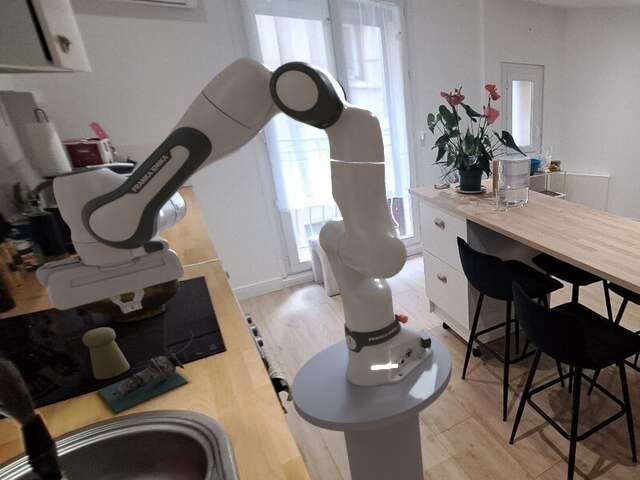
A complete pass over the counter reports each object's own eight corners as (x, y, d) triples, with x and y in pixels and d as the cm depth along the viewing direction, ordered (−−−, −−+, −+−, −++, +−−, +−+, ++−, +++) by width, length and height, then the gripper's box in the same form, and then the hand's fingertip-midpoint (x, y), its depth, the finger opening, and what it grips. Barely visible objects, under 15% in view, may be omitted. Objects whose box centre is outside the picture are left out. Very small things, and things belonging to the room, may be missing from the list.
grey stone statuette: (183, 368, 97) (120, 404, 89) (168, 348, 96) (102, 382, 88) (187, 370, 93) (121, 408, 85) (170, 349, 92) (102, 385, 84)
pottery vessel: (76, 336, 109) (47, 268, 102) (79, 320, 117) (53, 255, 110) (194, 309, 125) (176, 248, 118) (191, 296, 132) (174, 238, 126)
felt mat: (166, 364, 99) (166, 363, 99) (187, 382, 93) (187, 381, 93) (98, 391, 90) (97, 390, 89) (116, 413, 84) (116, 411, 84)
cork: (94, 370, 96) (78, 329, 92) (129, 360, 100) (115, 321, 96) (93, 382, 92) (76, 340, 88) (130, 372, 96) (115, 331, 92)
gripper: (35, 269, 72) (66, 337, 77) (177, 239, 88) (195, 296, 93) (27, 262, 75) (57, 327, 80) (165, 234, 91) (183, 289, 96)
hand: (132, 310), depth 87 cm, fingers closed
